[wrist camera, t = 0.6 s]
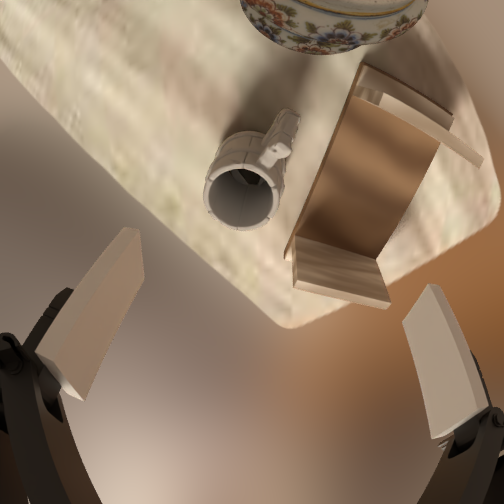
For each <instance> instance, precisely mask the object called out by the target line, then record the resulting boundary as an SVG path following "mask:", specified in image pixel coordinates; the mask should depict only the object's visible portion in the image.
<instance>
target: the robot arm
mask: <svg viewBox="0 0 504 504" xmlns="http://www.w3.org/2000/svg"><path fill="white" fill-rule="evenodd" d="M144 279H145V277H144V269H143V260H142V250H141V239H140V230H138V229H133V228H127V227H124V228H123V229H122V230H121V231H120V232H119V234H118V235H117V236H116V237H115V238H114V240H113V241H112V242H111V243H110V244H109V246H108V247H107V248H106V249H105V251H104V252H103V253H102V254H101V256H100V257H99V258H98V259H97V261H96V262H95V263H94V264H93V266H92V267H91V269H90V270H89V271H88V272H87V274H86V275H85V276H84V278H83V279H82V280H81V282H80V283H79V284H78V286H77V287H76V289H75V290H73V289H70V288H65V289H64V290H62V291H61V292H60V293H58V294H57V295H56V296H55V297H54V299H53V300H52V302H51V303H50V304H49V307H48V308H47V309H46V310H45V312H44V313H43V316H41V317H40V319H39V320H38V322H37V323H36V325H35V326H34V328H33V330H32V331H31V333H30V334H29V336H28V338H27V339H26V341H25V342H24V344H23V345H22V346H21V345H20V343H19V341H18V340H17V339H16V337H15V336H14V335H13V334H11V333H1V334H0V504H29V503H28V499H29V501H30V504H102V502H101V500H100V498H99V497H98V494H97V492H96V490H95V488H94V486H93V484H92V482H91V480H90V478H89V476H88V473H87V471H86V469H85V467H84V464H83V462H82V459H81V457H80V455H79V452H78V449H77V447H76V444H75V441H74V439H73V436H72V433H71V430H70V426H69V423H68V420H67V417H66V414H65V410H64V407H63V403H62V399H61V396H60V394H59V391H60V389H61V387H62V388H63V389H64V390H65V391H66V392H67V393H68V394H70V395H71V396H74V397H76V398H78V399H80V400H82V401H85V400H86V397H87V395H88V392H89V390H90V388H91V385H92V383H93V381H94V379H95V376H96V374H97V372H98V370H99V368H100V365H101V363H102V361H103V359H104V357H105V355H106V353H107V350H108V348H109V346H110V344H111V342H112V340H113V338H114V336H115V334H116V332H117V330H118V328H119V326H120V324H121V322H122V320H123V318H124V316H125V315H126V313H127V311H128V309H129V307H130V305H131V303H132V301H133V299H134V298H135V296H136V294H137V292H138V290H139V288H140V287H141V285H142V283H143V281H144ZM402 323H403V326H404V329H405V332H406V336H407V339H408V342H409V345H410V348H411V352H412V356H413V359H414V362H415V366H416V370H417V374H418V377H419V381H420V385H421V390H422V394H423V398H424V403H425V407H426V412H427V417H428V422H429V427H430V433H431V438H432V439H434V438H438V437H442V436H444V435H446V434H448V433H450V432H451V431H453V430H454V435H452V436H450V437H449V438H447V439H445V440H443V441H442V442H440V444H439V445H438V447H440V446H442V445H444V444H446V443H447V445H445V446H444V447H442V448H441V449H442V450H444V452H443V455H442V457H441V459H440V461H439V463H438V466H437V468H436V470H435V472H434V474H433V476H432V478H431V480H430V482H429V484H428V485H427V487H426V489H425V491H424V493H423V494H422V496H421V498H420V499H419V501H418V503H417V504H504V455H502V456H500V457H499V453H500V451H502V450H504V413H503V411H501V409H500V408H498V407H492V404H491V401H490V397H489V394H488V391H487V388H486V385H485V382H484V379H483V378H482V373H481V371H480V370H479V369H480V368H479V365H478V362H477V360H476V358H475V356H474V355H473V354H472V352H471V350H469V347H468V345H467V342H466V340H465V338H464V335H463V333H462V331H461V328H460V327H459V324H458V322H457V320H456V318H455V315H454V313H453V311H452V309H451V307H450V305H449V303H448V301H447V299H446V297H445V295H444V293H443V291H442V290H441V288H440V286H439V285H435V284H429V283H428V285H427V286H426V288H425V289H424V291H423V292H422V294H421V296H420V297H419V299H418V300H417V302H416V303H415V305H414V306H413V308H412V309H411V310H410V312H409V313H408V315H407V316H406V318H405V319H404V320H403V322H402ZM498 457H499V458H498ZM27 497H28V498H27Z"/></svg>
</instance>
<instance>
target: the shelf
mask: <svg viewBox="0 0 504 504" xmlns="http://www.w3.org/2000/svg"><path fill="white" fill-rule="evenodd" d="M452 115H453V114H452V113H451V112H449V111H448V110H446V109H445V108H444V107H442V106H441V105H439V104H438V103H436V102H435V101H433V100H432V99H430V98H429V97H427V96H426V95H424V94H422V93H421V92H419V91H418V90H416V89H414V88H413V87H411V86H409V85H408V84H406V83H404V82H402V81H401V80H399V79H397V78H395V77H393V76H391V75H390V74H388V73H386V72H384V71H382V70H380V69H378V68H376V67H374V66H372V65H370V64H368V63H365V62H360V65H359V67H358V70H357V73H356V75H355V78H354V81H353V84H352V86H351V89H350V92H349V94H348V97H347V99H346V102H345V105H344V107H343V110H342V113H341V115H340V118H339V120H338V123H337V125H336V128H335V130H334V133H333V136H332V138H331V141H330V143H329V146H328V148H327V151H326V153H325V156H324V158H323V161H322V163H321V165H320V168H319V170H318V173H317V175H316V178H315V180H314V182H313V185H312V187H311V190H310V192H309V195H308V197H307V199H306V202H305V204H304V206H303V209H302V211H301V213H300V216H299V218H298V221H297V223H296V225H295V228H294V230H293V232H292V234H291V237H290V239H289V241H288V244H287V246H286V248H285V251H284V259H285V260H288V261H291V262H292V270H293V288H295V289H299V290H303V291H307V292H311V293H315V294H320V295H324V296H328V297H332V298H336V299H341V300H345V301H349V302H354V303H358V304H362V305H367V306H371V307H376V308H380V309H385V310H386V309H387V308H388V307H389V305H390V304H391V300H390V297H389V294H388V291H387V289H386V286H385V283H384V280H383V277H382V275H381V272H380V269H379V267H378V264H377V262H376V258H377V257H378V255H379V254H380V252H381V251H382V249H383V248H384V246H385V244H386V243H387V241H388V240H389V238H390V236H391V235H392V233H393V231H394V230H395V228H396V226H397V225H398V223H399V221H400V220H401V218H402V216H403V214H404V213H405V211H406V209H407V207H408V206H409V204H410V202H411V200H412V198H413V197H414V195H415V193H416V191H417V189H418V187H419V185H420V184H421V182H422V180H423V178H424V176H425V174H426V172H427V170H428V168H429V166H430V164H431V162H432V160H433V158H434V156H435V153H436V151H437V149H438V147H439V145H440V143H442V144H444V145H445V146H447V147H448V148H450V149H452V150H453V151H455V152H456V153H458V154H459V155H460V156H462V157H463V158H465V159H466V160H468V161H469V162H470V163H472V164H473V165H475V166H476V167H477V168H480V166H481V164H482V162H483V160H484V158H483V157H482V156H481V155H479V154H478V153H477V152H476V151H474V150H473V149H472V148H471V147H469V146H468V145H467V144H465V143H464V142H463V141H461V140H460V139H459V138H457V137H456V136H455V135H453V134H452V133H450V132H449V130H450V127H451V125H452V123H453V120H454V117H452Z"/></svg>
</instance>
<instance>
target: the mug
mask: <svg viewBox="0 0 504 504" xmlns="http://www.w3.org/2000/svg"><path fill="white" fill-rule="evenodd" d="M299 122H300V115H299V114H298V113H296V112H295V111H293V110H291V109H289V108H285V109H282V110H281V111H280V112H279V113H278V115H277V116H276V118H275V119H274V122H273V124H272V126H271V127H270V129H269V131H268V132H267V134H266V135H265V134H263V133H260V132H256V131H242V132H238V133H235V134H233V135H231V136H230V137H228V138H227V139H226V140H224V142H223V143H222V144H221V145H220V147H219V148H218V150H217V152H216V155H215V159H214V161H213V162H212V164H211V166H210V167H209V170H208V173H207V176H206V179H205V181H206V183H205V186H204V192H203V200H204V205H205V208H206V210H207V211H208V213H209V214H210V215H211V217H212V218H213V219H214V220H218V221H220V223H221V224H222V225H224V226H226V227H227V228H229V229H233V230H238V231H251V230H255V229H258V228H260V227H262V226H264V225H265V224H267V222H268V221H269V219H270V218H273V217H274V215H275V214H276V212H277V210H278V207H279V202H280V198H281V196H282V194H283V192H284V187H285V185H284V179H283V177H284V174H285V172H286V168H285V165H286V164H285V158H286V157H287V156H289V155H290V153H291V152H292V149H291V142H293V141H294V138H295V134H296V131H297V129H298V126H297V125H298V124H299ZM242 168H244V169H247V170H250V171H253V172H255V173H257V174H259V175H260V176H261V177H260V180H259V183H258V184H248V183H247V182H246V180H245V179H244V178H243V176H242V175H241V174H240V173H239V171H238V170H237V169H242ZM229 170H231V173H232V176H233V177H232V176H231V175H230V173H229ZM265 180H266V181H265Z"/></svg>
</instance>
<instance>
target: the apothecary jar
mask: <svg viewBox="0 0 504 504" xmlns="http://www.w3.org/2000/svg"><path fill="white" fill-rule="evenodd" d="M240 3H241V6H242V9H243V11H244V13H245V15H246V16H247V18H248V19H249V21H250V22H251V23H252V25H253V26H254V27H255V28H256V29H257V30H258V31H259V32H261V33H262V34H263V35H264V36H266V37H267V38H269V39H270V40H272V41H274V42H275V43H277V44H279V45H281V46H284V47H286V48H288V49H291V50H294V51H298V52H302V53H306V54H314V55H331V54H338V53H343V52H347V51H350V50H353V49H355V48H357V47H359V46H361V45H367V44H375V43H380V42H384V41H387V40H390V39H393V38H395V37H397V36H399V35H401V34H403V33H405V32H406V31H408V30H409V29H410V28H411V27H413V26H414V25H415V24H416V23H417V22H418V20H419V19H420V18H421V16H422V15H423V13H424V11H425V9H426V7H427V3H428V0H240Z"/></svg>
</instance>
